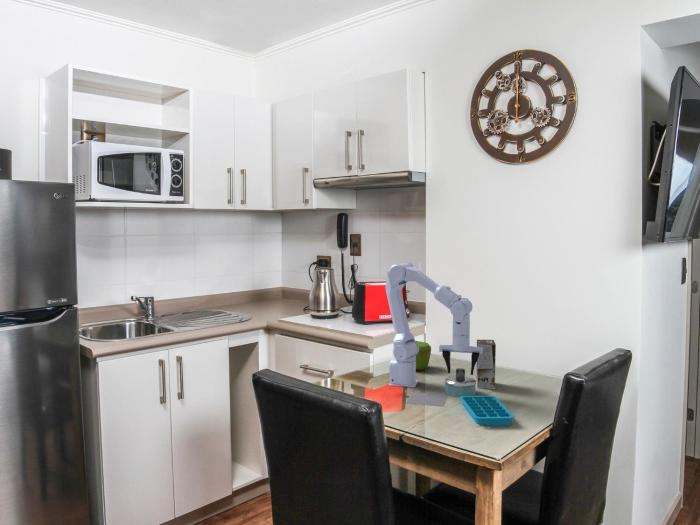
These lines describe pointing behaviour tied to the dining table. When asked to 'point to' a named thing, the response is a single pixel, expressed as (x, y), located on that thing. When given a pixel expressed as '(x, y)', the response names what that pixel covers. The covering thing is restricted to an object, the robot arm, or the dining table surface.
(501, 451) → the dining table surface
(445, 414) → the dining table surface
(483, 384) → the coffee box
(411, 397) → the mat
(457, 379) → the lid
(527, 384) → the dining table surface
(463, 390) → the bowl
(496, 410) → the ice cube tray
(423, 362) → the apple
